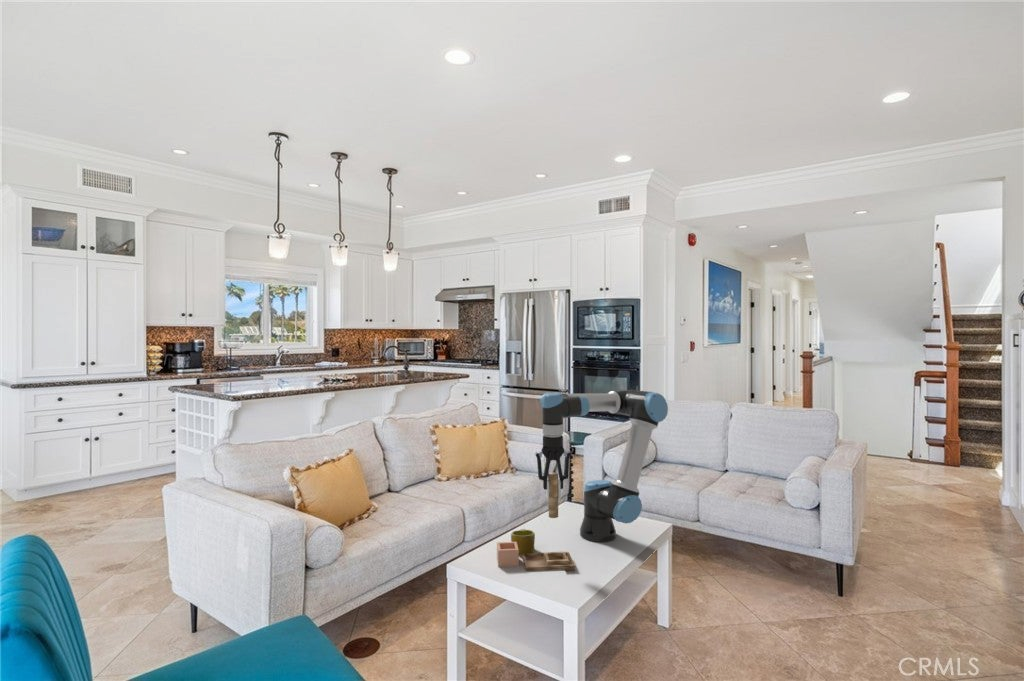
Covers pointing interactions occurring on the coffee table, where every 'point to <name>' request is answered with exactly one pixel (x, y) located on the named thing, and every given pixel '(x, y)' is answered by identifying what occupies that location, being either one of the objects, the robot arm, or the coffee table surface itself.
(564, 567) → the tray
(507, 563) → the pink hollow box
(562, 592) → the coffee table surface
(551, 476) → the dowel
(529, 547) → the mug
